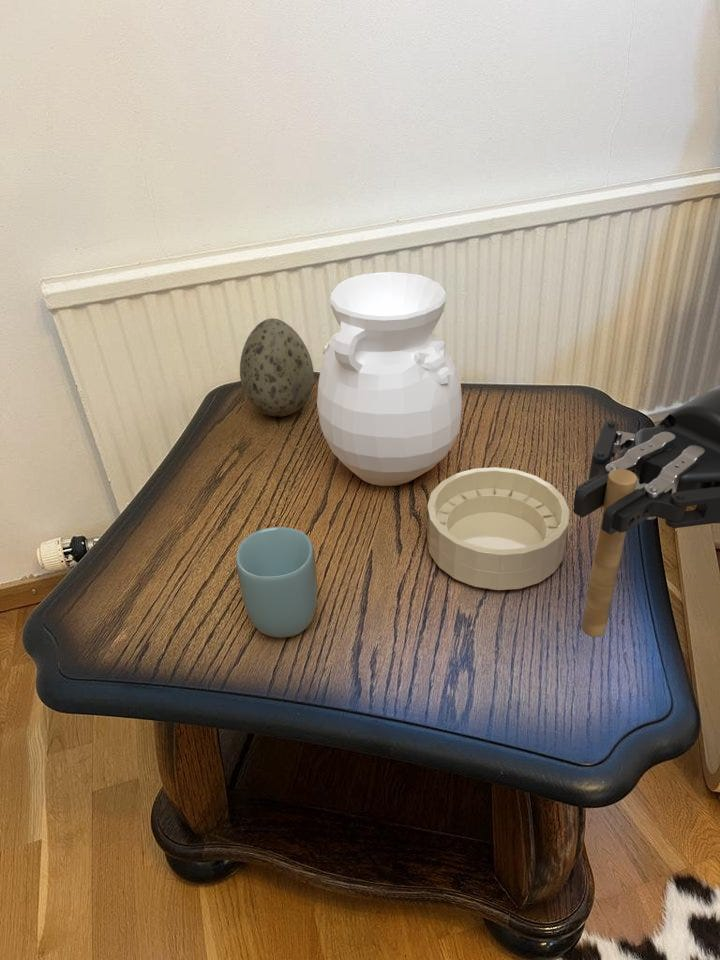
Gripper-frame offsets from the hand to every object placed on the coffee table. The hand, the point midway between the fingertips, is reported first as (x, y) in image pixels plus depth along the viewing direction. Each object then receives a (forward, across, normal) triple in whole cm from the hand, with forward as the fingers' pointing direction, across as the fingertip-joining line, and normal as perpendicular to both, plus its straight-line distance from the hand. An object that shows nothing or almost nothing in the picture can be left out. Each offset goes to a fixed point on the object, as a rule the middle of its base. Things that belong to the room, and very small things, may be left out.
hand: (593, 513), depth 55 cm
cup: (+13, -26, +24) cm, 38 cm away
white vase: (-14, -41, +24) cm, 50 cm away
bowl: (-13, -21, +24) cm, 34 cm away
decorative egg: (-10, -63, +24) cm, 68 cm away
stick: (-3, 0, +14) cm, 14 cm away
